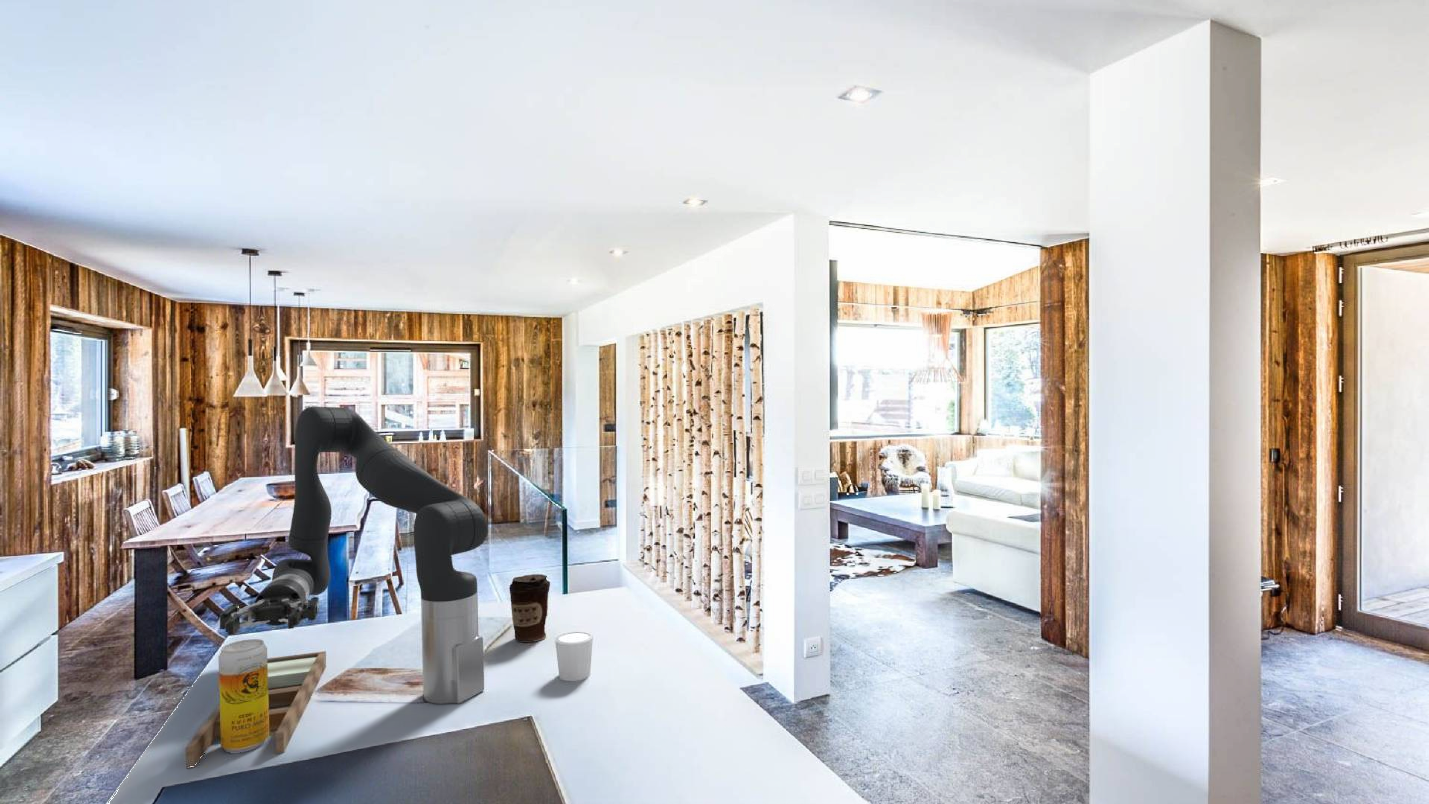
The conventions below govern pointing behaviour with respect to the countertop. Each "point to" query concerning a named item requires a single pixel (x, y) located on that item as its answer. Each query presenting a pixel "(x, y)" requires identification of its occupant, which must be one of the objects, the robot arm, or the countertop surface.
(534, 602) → the coffee cup
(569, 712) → the countertop surface
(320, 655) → the brown wooden flat frame
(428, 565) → the robot arm
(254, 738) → the beer can
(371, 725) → the countertop surface
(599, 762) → the countertop surface
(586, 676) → the white cup
